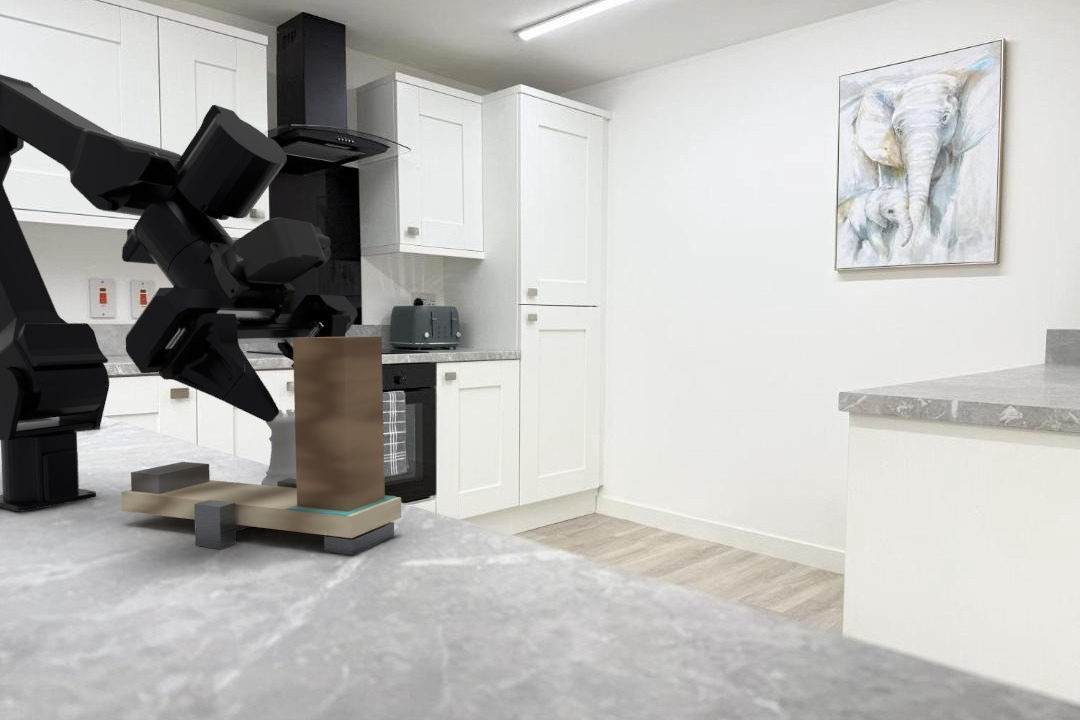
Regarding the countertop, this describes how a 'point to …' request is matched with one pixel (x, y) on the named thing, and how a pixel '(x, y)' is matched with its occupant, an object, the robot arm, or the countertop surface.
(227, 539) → the seesaw stand
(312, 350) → the column
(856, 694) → the countertop surface
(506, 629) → the countertop surface
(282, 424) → the rook chess piece
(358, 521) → the seesaw beam
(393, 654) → the countertop surface
